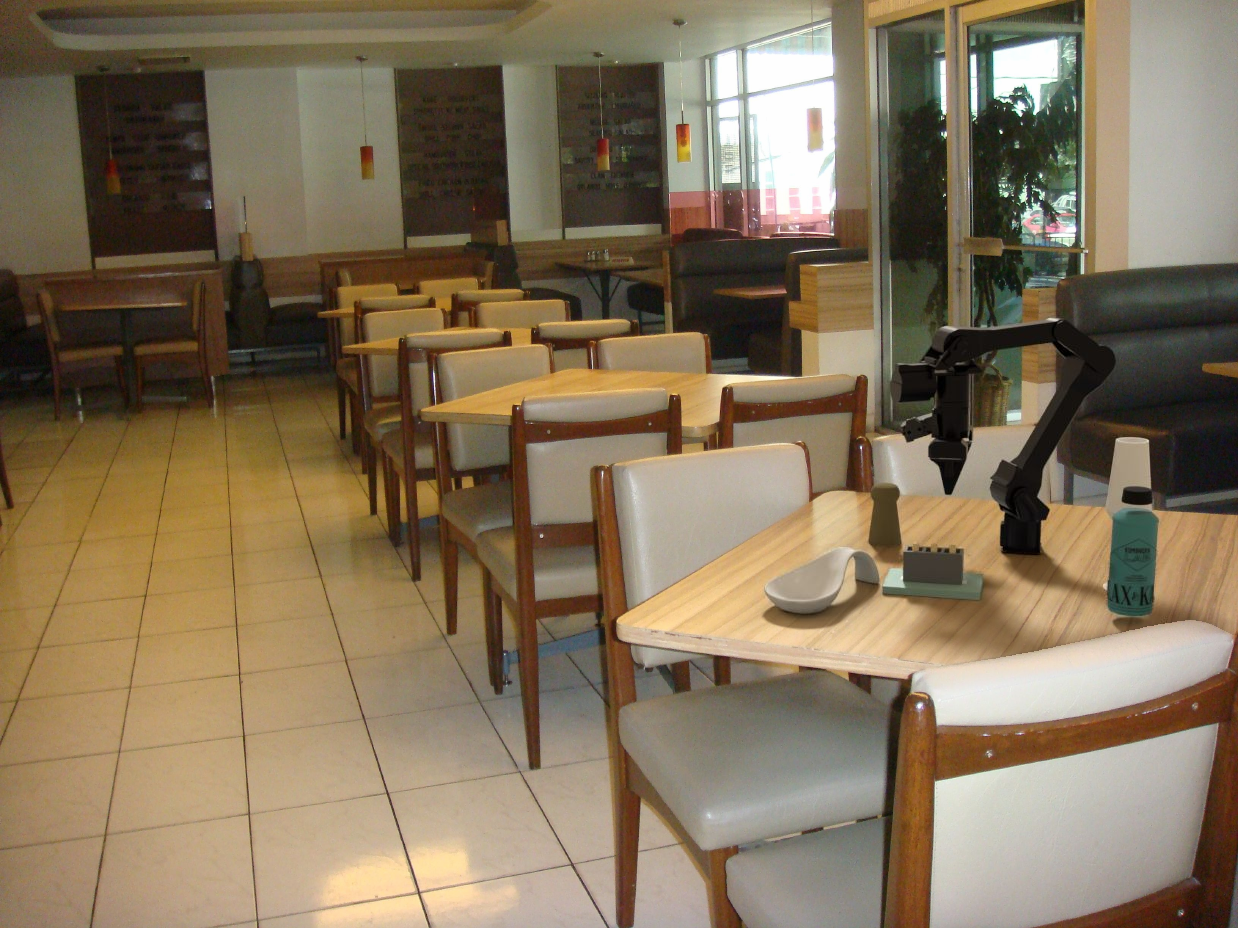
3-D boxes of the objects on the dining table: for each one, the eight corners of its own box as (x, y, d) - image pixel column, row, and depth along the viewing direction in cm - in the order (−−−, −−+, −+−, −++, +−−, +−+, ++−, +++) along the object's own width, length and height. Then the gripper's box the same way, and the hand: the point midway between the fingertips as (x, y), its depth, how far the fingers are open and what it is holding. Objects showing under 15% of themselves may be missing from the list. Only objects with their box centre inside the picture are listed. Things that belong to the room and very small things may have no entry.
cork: (902, 546, 219) (902, 487, 217) (868, 546, 220) (868, 487, 218) (901, 537, 225) (901, 480, 223) (868, 537, 226) (868, 479, 224)
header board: (983, 580, 198) (984, 538, 197) (979, 600, 189) (980, 555, 187) (890, 574, 203) (890, 533, 202) (882, 593, 194) (882, 550, 192)
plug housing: (963, 578, 196) (963, 548, 195) (961, 584, 193) (962, 554, 192) (905, 574, 199) (905, 545, 198) (902, 581, 196) (903, 551, 195)
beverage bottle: (1097, 613, 181) (1103, 483, 177) (1140, 610, 182) (1147, 481, 177) (1118, 628, 175) (1125, 494, 170) (1163, 625, 175) (1171, 491, 171)
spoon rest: (810, 627, 181) (810, 581, 179) (749, 611, 189) (748, 567, 187) (897, 588, 197) (897, 546, 196) (837, 575, 205) (837, 534, 204)
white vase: (1127, 597, 188) (1135, 446, 182) (1092, 586, 193) (1099, 439, 188) (1157, 589, 191) (1165, 440, 185) (1121, 579, 196) (1129, 434, 191)
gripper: (910, 391, 219) (909, 475, 222) (897, 408, 202) (896, 499, 205) (974, 392, 215) (972, 477, 218) (967, 409, 198) (965, 502, 201)
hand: (950, 488), depth 211 cm, fingers open, 9 cm apart
